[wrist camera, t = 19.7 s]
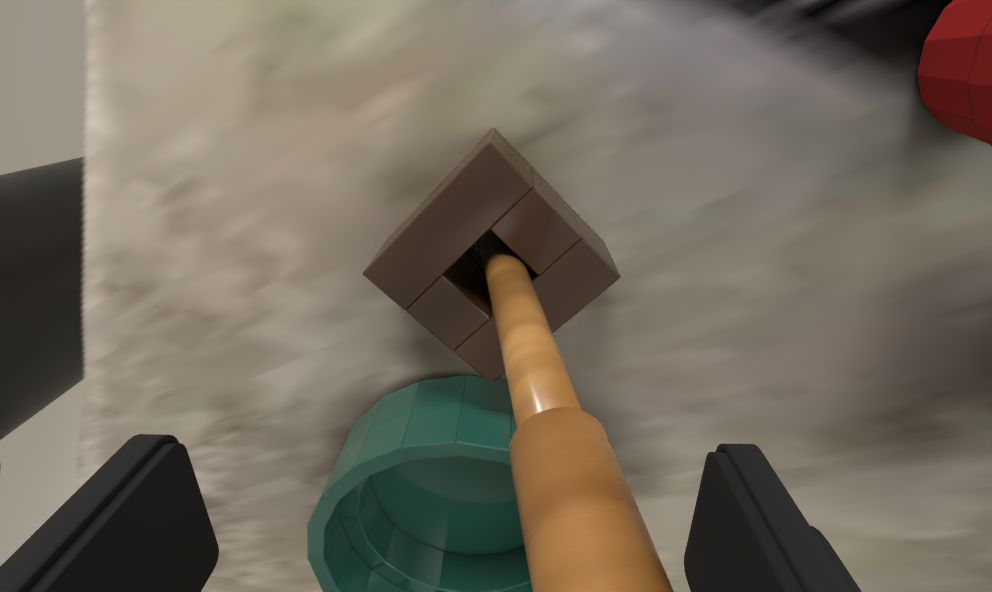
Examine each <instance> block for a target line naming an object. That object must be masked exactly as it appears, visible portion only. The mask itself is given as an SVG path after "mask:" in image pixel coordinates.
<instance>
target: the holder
mask: <svg viewBox="0 0 992 592" xmlns="http://www.w3.org/2000/svg"><path fill="white" fill-rule="evenodd" d="M490 228H491V230H492V231H493V232H494V233H495V234H496V235H497V236H498V237H499V238H500V239H501V240H502V241H503V242H504V243H505V244H506V245H507V246H508V247H509V248H510V249H511V250H512V251H513V252H514V253H516V254H517V255H518V256H519V257H520V258H521V259H522V260H523V261H524V263H525V265H526V268H527V270H528V273H529V276H530V278H531V281H532V283H533V286H534V288H535V291H536V293H537V296H538V299H539V301H540V304H541V306H542V309H543V311H544V314H545V317H546V319H547V322H548V324H549V327H550V329H551V332H552V333H553V332H555V331H556V330H557V329H558V328H559V327H561V326H562V325H563V324H564V323H565V322H567V321H568V320H569V319H570V318H572V317H573V316H574V315H575V314H576V313H578V312H579V311H580V310H581V309H583V308H584V307H585V306H586V305H587V304H589V303H590V302H591V301H592V300H593V299H595V298H596V297H597V296H598V295H600V294H601V293H602V292H603V291H604V290H606V289H607V288H608V287H609V286H610V285H612V284H613V283H614V282H615V281H617V280H618V279H619V278H620V274H619V272H618V270H617V268H616V266H615V264H614V262H613V260H612V258H611V255H610V253H609V251H608V249H607V247H606V245H605V243H604V241H603V240H602V239H601V238H600V237H599V236H598V235H597V234H596V233H595V232H594V231H593V230H592V229H591V228H590V227H589V226H588V225H587V224H586V223H585V222H584V221H583V220H582V219H581V218H580V216H579V215H578V214H577V213H576V212H575V211H574V210H572V208H571V207H570V206H569V205H568V204H567V203H566V202H565V201H564V200H563V199H562V198H561V197H560V196H559V195H558V193H557V192H556V191H555V190H554V189H553V188H552V187H551V186H550V185H549V184H548V183H547V182H546V181H545V180H544V179H543V178H542V177H541V176H540V175H539V174H538V173H537V172H536V171H535V169H534V168H533V167H530V164H529V163H528V162H527V161H526V160H525V159H524V158H523V157H522V156H521V155H520V154H519V153H518V152H517V151H516V150H515V149H514V148H513V147H512V146H511V145H510V143H509V142H508V141H507V140H506V139H505V138H504V137H503V136H502V135H501V134H500V133H499V132H498V131H497V130H496V129H495V128H493V129H492V130H491V131H490V132H489V133H488V134H487V135H486V136H485V137H484V138H483V139H482V140H481V141H480V143H479V144H478V145H477V146H476V147H475V148H474V149H473V150H472V151H471V152H470V153H469V154H468V155H467V156H466V157H465V158H464V159H463V160H462V162H461V163H460V164H459V165H458V166H457V167H456V168H455V169H454V170H453V171H452V172H451V173H450V174H449V175H448V176H447V177H446V178H445V179H444V180H443V182H442V183H441V184H440V185H439V186H438V187H437V188H436V189H435V190H434V191H433V192H432V193H431V194H430V195H429V196H428V197H427V198H426V199H425V201H424V202H423V203H422V204H421V205H420V206H419V207H418V208H417V209H416V210H415V211H414V212H413V213H412V214H411V215H410V216H409V217H408V218H407V219H406V221H405V222H404V223H403V224H402V225H401V226H400V227H399V228H398V229H397V230H396V231H395V232H394V233H393V234H392V235H391V236H390V237H389V238H388V239H387V241H386V242H385V243H384V245H383V246H382V247H381V249H380V250H379V252H378V253H377V254H376V256H375V257H374V258H373V260H372V261H371V262H370V264H369V265H368V267H367V268H366V269H365V271H364V272H363V275H364V276H365V277H366V278H368V279H369V280H370V281H371V282H372V283H373V284H375V285H376V286H377V287H378V288H379V289H381V290H382V291H383V292H384V293H385V294H386V295H388V296H389V297H390V298H391V299H392V300H394V301H395V302H396V303H397V304H398V305H399V306H401V307H402V308H403V309H404V310H406V311H407V312H408V313H409V314H410V315H411V316H412V317H414V318H415V319H416V320H417V321H418V322H419V323H421V324H422V325H423V326H424V327H425V328H427V329H428V330H429V331H430V332H431V333H432V334H434V335H435V336H436V337H437V338H438V339H440V340H441V341H442V342H443V343H444V344H445V345H447V346H448V347H449V348H450V349H451V350H454V352H455V353H456V354H457V355H458V356H460V357H461V358H462V359H463V360H464V361H465V362H467V363H468V364H469V365H470V366H471V367H472V368H474V369H475V370H476V371H477V372H478V373H480V374H481V375H482V376H483V377H484V378H485V379H487V380H488V381H489V382H490V383H493V382H494V381H495V380H496V379H497V378H499V377H500V376H501V375H502V374H503V373H505V367H504V362H503V357H502V352H501V348H500V343H499V338H498V333H497V328H496V323H495V318H494V314H493V309H492V304H491V299H490V294H489V289H488V284H487V280H486V275H485V270H484V269H483V268H481V267H480V266H479V265H478V264H477V263H476V262H475V261H474V260H473V259H472V258H471V257H470V256H469V255H467V254H466V253H465V252H466V251H467V250H468V249H469V248H470V247H472V246H473V245H474V244H475V243H476V242H477V241H478V240H479V239H480V238H481V237H482V236H483V235H484V234H485V233H486V232H487V231H488V230H489V229H490Z"/></svg>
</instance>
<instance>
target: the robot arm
mask: <svg viewBox="0 0 992 592" xmlns="http://www.w3.org/2000/svg"><path fill="white" fill-rule="evenodd" d="M218 555H219V548H218V544H217V540H216V537H215V534H214V531H213V528H212V525H211V522H210V519H209V516H208V513H207V510H206V507H205V504H204V501H203V498H202V495H201V492H200V489H199V486H198V483H197V480H196V477H195V473H194V470H193V467H192V464H191V461H190V458H189V455H188V452H187V449H186V447H185V446H184V445H183V444H180V443H179V442H178V440H177V438H175V437H174V436H173V435H147V434H139V435H136V436H133V437H132V438H131V439H129V440H128V441H127V442H126V443H125V444H124V445H123V446H122V447H121V448H120V449H119V450H118V451H117V452H116V453H115V454H114V455H113V456H112V457H111V458H110V459H109V460H108V461H107V462H106V463H105V464H104V465H103V466H102V467H101V468H100V469H99V470H98V471H97V472H96V473H95V474H94V475H93V476H92V477H91V478H90V479H89V480H88V481H87V482H86V483H85V484H84V485H83V486H82V487H81V488H79V489H78V490H77V491H76V492H75V493H74V494H73V495H72V496H71V497H70V498H69V500H67V501H66V502H65V503H64V504H63V505H62V506H61V507H60V508H59V509H58V510H57V511H56V512H55V513H54V514H53V515H52V516H51V517H50V518H49V519H48V520H47V521H46V522H45V523H44V524H43V525H42V526H41V527H40V528H39V529H38V530H37V531H36V532H35V533H34V534H33V535H32V536H31V537H30V538H29V539H28V540H27V541H26V542H25V543H24V544H23V545H22V546H21V547H20V548H19V549H18V550H17V551H16V552H15V553H14V554H13V555H12V556H11V557H10V558H9V559H8V560H7V561H6V562H5V563H4V564H3V565H2V566H0V592H201V590H202V589H203V587H204V585H205V583H206V582H207V580H208V578H209V577H210V575H211V573H212V571H213V570H214V568H215V566H216V563H217V560H218ZM684 567H685V574H686V578H687V581H688V584H689V587H690V590H691V592H861V590H860V589H859V587H858V586H857V584H856V583H855V581H854V580H853V578H852V577H851V575H850V574H849V572H848V571H847V569H846V568H845V566H844V565H843V563H842V561H841V560H840V558H839V557H838V555H837V554H836V552H835V551H834V549H833V548H832V546H831V545H830V543H829V542H828V540H827V539H826V538H825V537H824V536H823V534H822V533H821V532H820V531H819V530H817V529H816V528H814V527H813V526H810V525H809V524H808V522H807V521H806V519H805V518H804V516H803V515H802V513H801V512H800V510H799V508H798V507H797V505H796V504H795V502H794V501H793V499H792V498H791V496H790V495H789V493H788V491H787V490H786V488H785V487H784V485H783V484H782V482H781V481H780V479H779V478H778V476H777V474H776V473H775V471H774V470H773V468H772V467H771V465H770V464H769V462H768V461H767V459H766V457H765V456H764V454H763V453H762V451H761V450H760V449H759V448H758V446H756V445H754V444H720V445H719V446H718V447H717V450H716V452H709V453H708V454H707V457H706V461H705V466H704V470H703V475H702V479H701V484H700V488H699V493H698V497H697V502H696V506H695V511H694V515H693V520H692V524H691V529H690V533H689V538H688V542H687V547H686V551H685V556H684Z"/></svg>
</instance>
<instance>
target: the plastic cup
mask: <svg viewBox="0 0 992 592" xmlns="http://www.w3.org/2000/svg"><path fill="white" fill-rule="evenodd" d="M917 76H918V82H919V87H920V93H921V99H922V102H923V103H924V104H925V105H926V107H927V108H928V109H929V110H930V111H931V113H932V114H933V115H934V116H935V117H936V119H937V120H939V121H941V122H943V123H944V125H945V126H946V127H948V128H950V129H953V130H955V131H958V132H960V133H963V134H965V135H968V136H970V137H973V138H976V139H978V140H981V141H983V142H986V143H988V144H990V145H991V146H992V0H953V1H952V2H951V3H950V4H949V5H948V6H946V7H945V8H944V10H943V11H942V13H941V15H940V16H939V18H938V20H937V21H936V23H935V25H934V26H933V28H932V30H931V31H930V33H929V35H928V36H927V38H926V40H925V41H924V46H923V50H922V54H921V59H920V63H919V67H918V72H917Z"/></svg>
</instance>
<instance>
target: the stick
mask: <svg viewBox="0 0 992 592" xmlns="http://www.w3.org/2000/svg"><path fill="white" fill-rule="evenodd" d="M480 250H481V255H482V260H483V265H484V270H485V275H486V280H487V284H488V289H489V294H490V299H491V304H492V309H493V314H494V318H495V323H496V328H497V333H498V338H499V343H500V348H501V352H502V357H503V362H504V367H505V372H506V377H507V382H508V386H509V391H510V396H511V401H512V406H513V411H514V416H515V420H516V425H517V430H516V431H515V433H514V435H513V437H512V439H511V441H510V445H509V459H510V465H511V471H512V476H513V482H514V488H515V494H516V500H517V505H518V511H519V517H520V523H521V528H522V534H523V540H524V546H525V552H526V557H527V563H528V569H529V575H530V581H531V586H532V592H674V591H673V589H672V586H671V584H670V582H669V579H668V577H667V575H666V572H665V570H664V568H663V565H662V563H661V561H660V558H659V556H658V554H657V551H656V549H655V547H654V544H653V542H652V540H651V537H650V535H649V533H648V530H647V528H646V526H645V523H644V521H643V519H642V516H641V514H640V512H639V509H638V507H637V505H636V502H635V500H634V498H633V495H632V493H631V491H630V488H629V486H628V484H627V481H626V479H625V477H624V474H623V472H622V470H621V467H620V465H619V463H618V460H617V458H616V456H615V453H614V451H613V449H612V446H611V444H610V442H609V439H608V437H607V435H606V432H605V430H604V428H603V426H602V424H601V423H600V422H599V421H598V420H597V419H596V418H595V417H594V416H592V415H591V414H589V413H587V412H585V411H583V410H582V409H581V406H580V404H579V401H578V398H577V396H576V393H575V391H574V388H573V386H572V383H571V380H570V378H569V375H568V373H567V370H566V368H565V365H564V363H563V360H562V357H561V355H560V352H559V350H558V347H557V345H556V342H555V340H554V337H553V334H552V332H551V329H550V327H549V324H548V322H547V319H546V317H545V314H544V311H543V309H542V306H541V304H540V301H539V299H538V296H537V293H536V291H535V288H534V286H533V283H532V281H531V278H530V276H529V273H528V270H527V268H526V265H525V263H524V261H523V260H522V259H521V258H520V257H519V256H518V255H517V254H516V253H514V252H513V251H512V250H511V249H510V248H509V247H508V246H507V245H506V244H505V243H504V242H503V241H502V240H501V239H500V238H499V237H498V236H497V235H496V234H495V233H494V232H493V231H492V230H491V229H490V230H489V231H487V232H486V233H485V234H484V235H483V237H482V239H481V242H480Z"/></svg>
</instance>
